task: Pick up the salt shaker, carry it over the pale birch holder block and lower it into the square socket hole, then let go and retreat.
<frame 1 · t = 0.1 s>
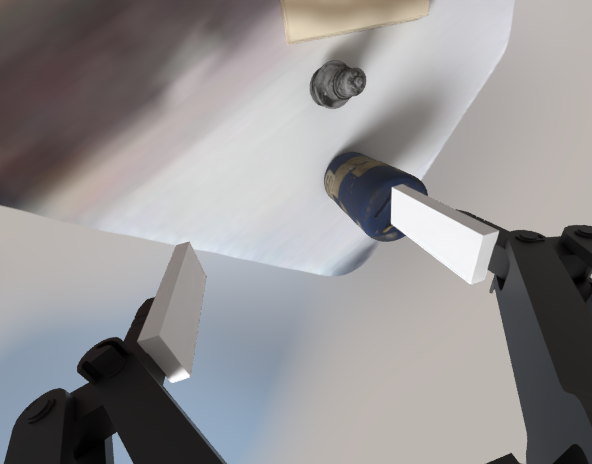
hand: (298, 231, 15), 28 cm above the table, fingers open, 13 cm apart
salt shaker: (325, 87, 37), on the table
canister: (345, 176, 45), on the table
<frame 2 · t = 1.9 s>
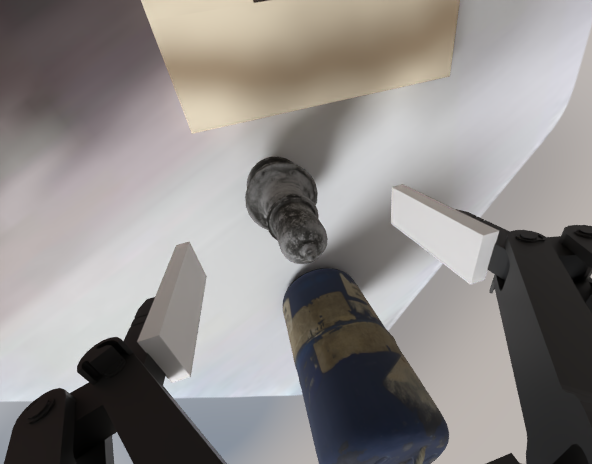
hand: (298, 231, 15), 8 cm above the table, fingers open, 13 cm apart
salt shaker: (275, 185, 22), on the table
canister: (316, 291, 30), on the table
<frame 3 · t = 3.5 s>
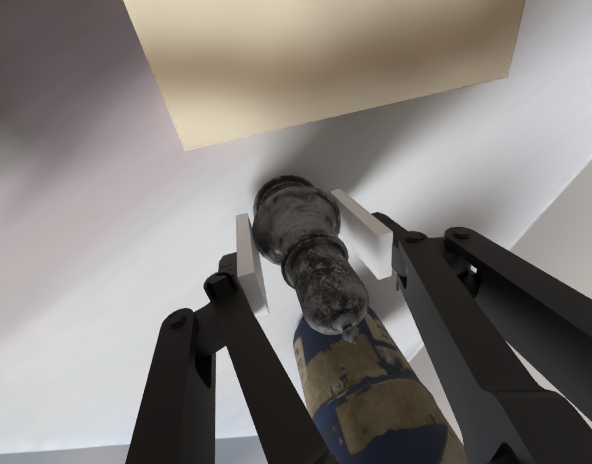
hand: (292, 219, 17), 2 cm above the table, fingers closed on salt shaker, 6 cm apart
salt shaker: (287, 208, 19), on the table, touching gripper
canister: (331, 324, 26), on the table
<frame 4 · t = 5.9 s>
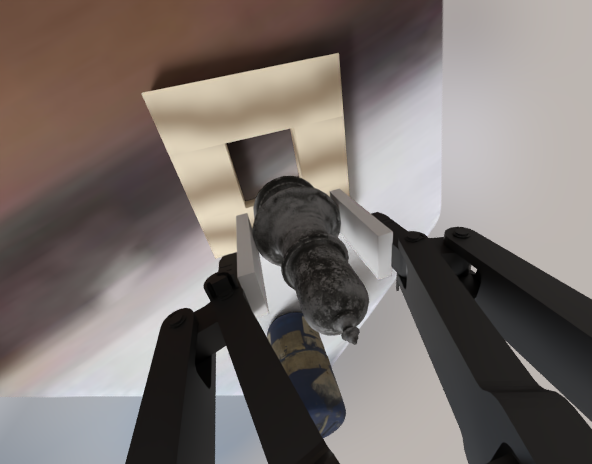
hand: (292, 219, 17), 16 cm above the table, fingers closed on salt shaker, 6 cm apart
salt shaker: (287, 208, 19), point 14 cm above the table, touching gripper
socket: (266, 165, 31), on the table
canister: (290, 325, 46), on the table
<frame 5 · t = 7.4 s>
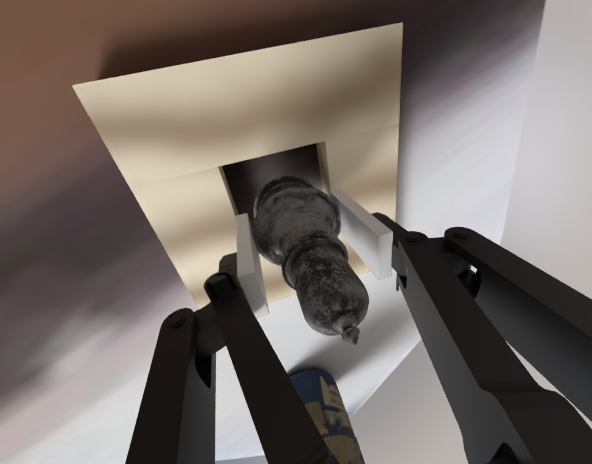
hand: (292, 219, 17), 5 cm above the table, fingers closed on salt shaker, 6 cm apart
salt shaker: (287, 208, 19), point 3 cm above the table, touching gripper
socket: (279, 193, 21), on the table
canister: (303, 382, 37), on the table
when the fingers open (4 cm above the table, at t = 8.4 s): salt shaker drops 2 cm, resting in socket.
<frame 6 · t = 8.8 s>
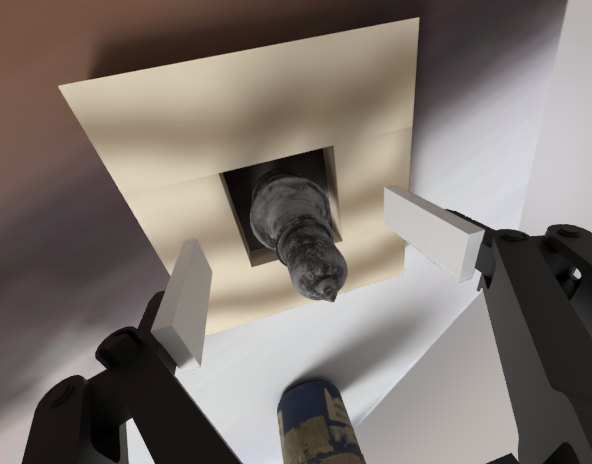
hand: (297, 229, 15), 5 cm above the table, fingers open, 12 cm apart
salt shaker: (282, 199, 20), resting in socket
socket: (283, 200, 20), on the table
canister: (306, 393, 36), on the table
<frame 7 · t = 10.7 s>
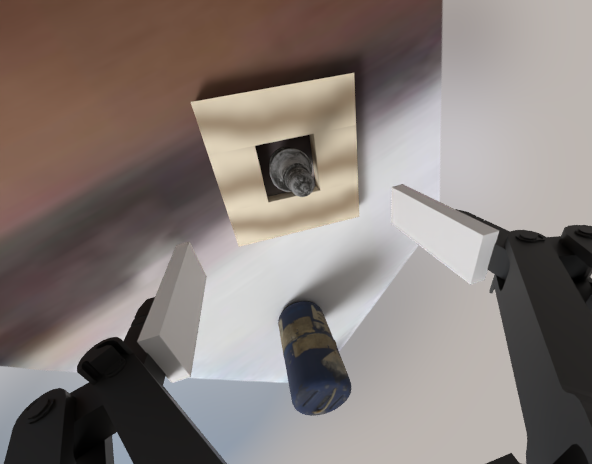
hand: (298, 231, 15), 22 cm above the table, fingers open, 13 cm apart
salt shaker: (286, 165, 36), resting in socket
socket: (286, 165, 35), on the table
canister: (299, 314, 50), on the table
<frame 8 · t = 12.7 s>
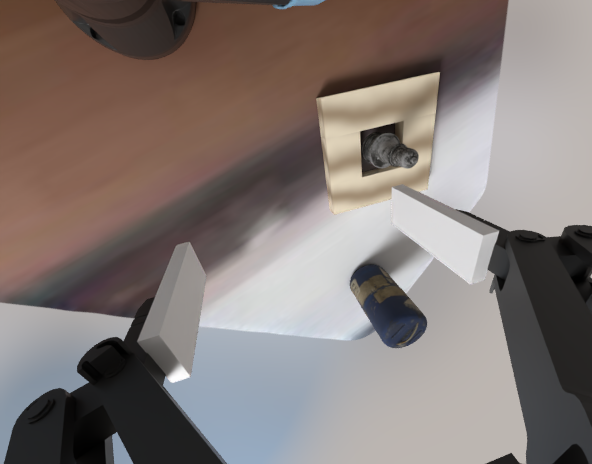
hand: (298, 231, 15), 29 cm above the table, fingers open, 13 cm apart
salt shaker: (374, 147, 44), resting in socket
socket: (374, 147, 44), on the table
canister: (364, 277, 60), on the table
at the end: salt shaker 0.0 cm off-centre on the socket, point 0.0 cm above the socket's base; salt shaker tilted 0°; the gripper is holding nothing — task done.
